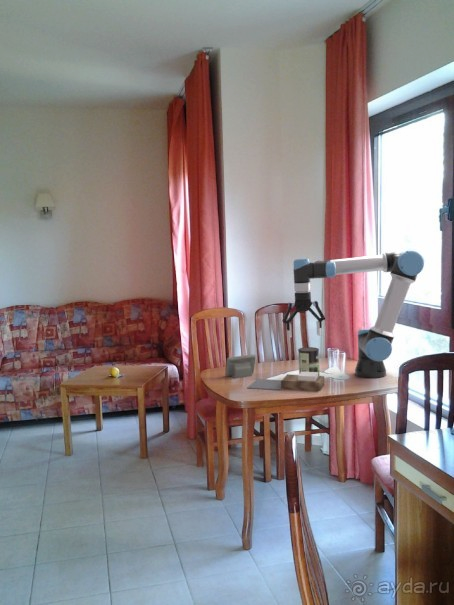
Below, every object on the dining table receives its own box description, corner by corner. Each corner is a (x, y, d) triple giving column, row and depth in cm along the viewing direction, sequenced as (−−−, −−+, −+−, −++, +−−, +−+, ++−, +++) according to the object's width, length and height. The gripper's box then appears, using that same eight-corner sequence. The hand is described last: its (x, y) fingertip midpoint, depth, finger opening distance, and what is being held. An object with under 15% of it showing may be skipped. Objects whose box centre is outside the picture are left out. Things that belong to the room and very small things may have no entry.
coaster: (318, 376, 249) (318, 372, 249) (315, 381, 242) (314, 376, 241) (301, 376, 252) (301, 371, 252) (297, 380, 244) (297, 375, 244)
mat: (288, 381, 259) (288, 380, 259) (280, 390, 244) (280, 389, 244) (257, 379, 264) (257, 378, 264) (247, 388, 249) (247, 387, 249)
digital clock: (254, 372, 280) (253, 352, 279) (258, 376, 271) (257, 356, 270) (224, 374, 277) (223, 354, 276) (227, 379, 269) (226, 358, 267)
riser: (324, 384, 250) (324, 376, 250) (319, 391, 239) (319, 382, 239) (287, 382, 257) (287, 374, 256) (281, 389, 246) (281, 380, 245)
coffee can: (319, 374, 270) (319, 347, 268) (319, 379, 260) (318, 351, 258) (299, 374, 272) (298, 347, 271) (298, 379, 262) (297, 351, 261)
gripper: (326, 289, 254) (327, 332, 256) (275, 292, 252) (277, 336, 254) (330, 290, 246) (332, 335, 249) (277, 294, 244) (280, 339, 247)
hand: (304, 336), depth 251 cm, fingers open, 13 cm apart
